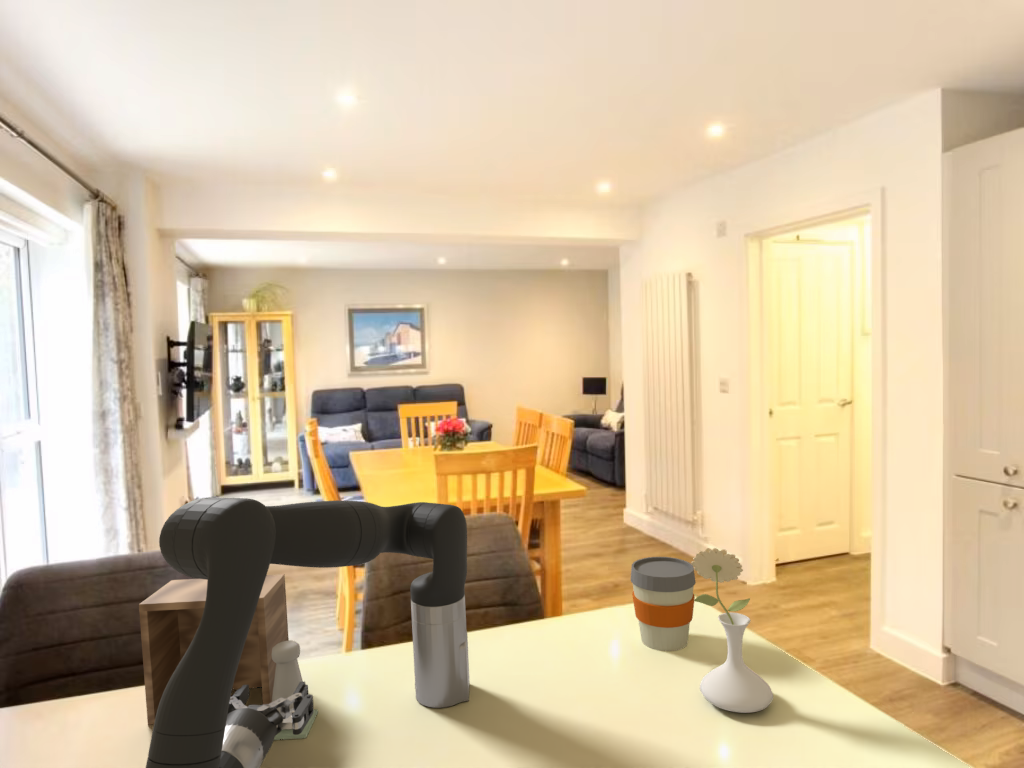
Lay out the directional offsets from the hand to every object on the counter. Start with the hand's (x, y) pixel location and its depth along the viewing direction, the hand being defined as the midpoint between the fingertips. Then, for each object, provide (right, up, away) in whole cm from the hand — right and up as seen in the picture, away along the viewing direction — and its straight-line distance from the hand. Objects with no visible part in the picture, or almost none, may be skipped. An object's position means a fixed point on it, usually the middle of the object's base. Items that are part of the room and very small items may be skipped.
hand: (275, 688), depth 98 cm
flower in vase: (+72, -6, +8) cm, 73 cm away
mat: (0, -9, +6) cm, 10 cm away
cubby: (-14, -9, +14) cm, 21 cm away
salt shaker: (0, -8, +6) cm, 10 cm away
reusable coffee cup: (+66, -5, +30) cm, 73 cm away
